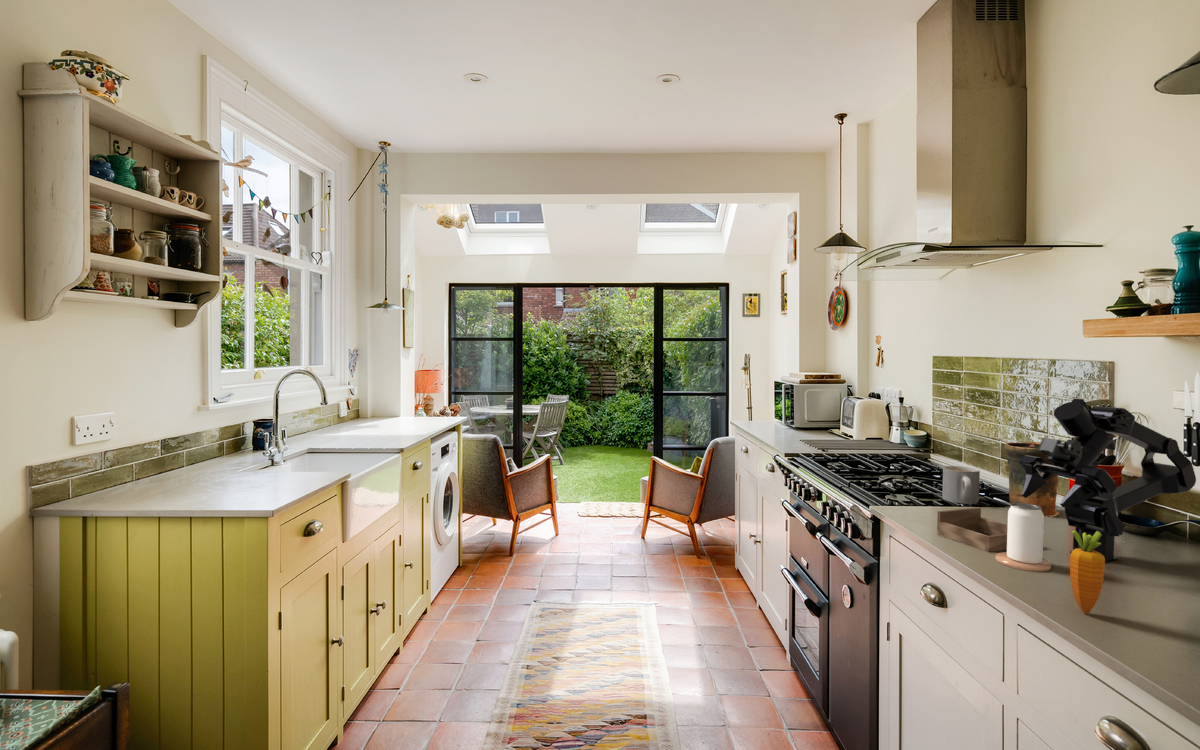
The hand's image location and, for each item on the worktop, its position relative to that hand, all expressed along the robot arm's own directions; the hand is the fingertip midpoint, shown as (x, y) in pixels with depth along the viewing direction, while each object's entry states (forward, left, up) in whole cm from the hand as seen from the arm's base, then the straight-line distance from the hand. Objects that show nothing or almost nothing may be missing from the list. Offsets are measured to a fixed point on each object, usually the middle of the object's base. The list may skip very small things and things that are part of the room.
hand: (1042, 501), depth 132 cm
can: (0, +5, -13) cm, 14 cm away
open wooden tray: (+15, -2, -14) cm, 21 cm away
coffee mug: (+47, -33, -14) cm, 59 cm away
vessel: (+31, -42, -14) cm, 54 cm away
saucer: (0, +5, -14) cm, 15 cm away
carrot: (-22, +20, -14) cm, 33 cm away
